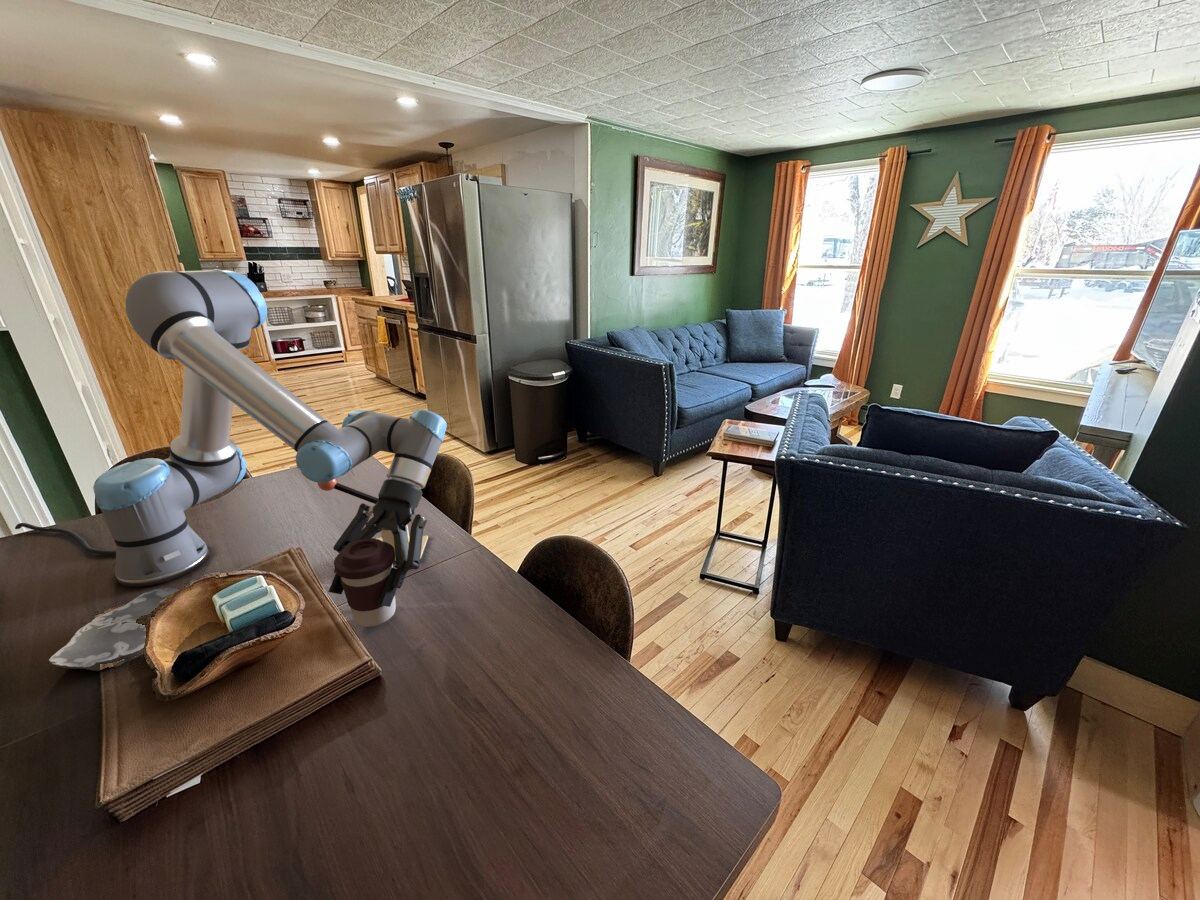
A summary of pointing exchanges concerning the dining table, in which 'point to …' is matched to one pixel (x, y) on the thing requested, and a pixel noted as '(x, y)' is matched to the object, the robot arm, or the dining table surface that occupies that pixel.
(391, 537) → the bracket
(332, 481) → the lever
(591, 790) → the dining table surface
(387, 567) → the coffee cup
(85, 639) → the grey stone slab
